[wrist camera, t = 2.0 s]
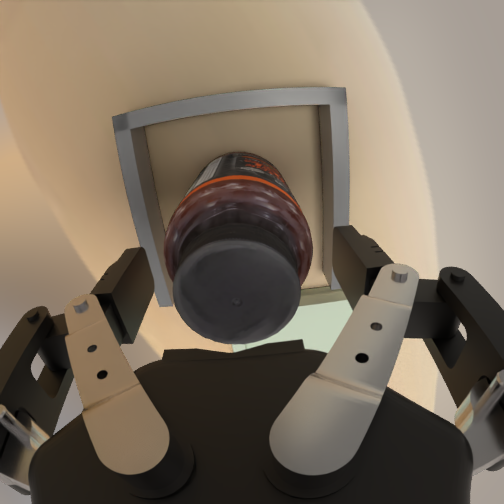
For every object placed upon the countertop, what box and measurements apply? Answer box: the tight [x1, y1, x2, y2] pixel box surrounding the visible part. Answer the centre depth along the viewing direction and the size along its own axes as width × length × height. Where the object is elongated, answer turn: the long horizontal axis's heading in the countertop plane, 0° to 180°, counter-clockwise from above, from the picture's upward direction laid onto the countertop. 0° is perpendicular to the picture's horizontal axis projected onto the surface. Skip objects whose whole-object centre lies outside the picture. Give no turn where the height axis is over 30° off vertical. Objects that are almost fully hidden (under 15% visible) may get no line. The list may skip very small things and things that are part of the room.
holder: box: [112, 87, 350, 307], centre depth 18 cm, size 13×13×2 cm
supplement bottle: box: [164, 152, 313, 345], centre depth 14 cm, size 6×6×11 cm
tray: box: [232, 286, 353, 353], centre depth 24 cm, size 12×12×2 cm
